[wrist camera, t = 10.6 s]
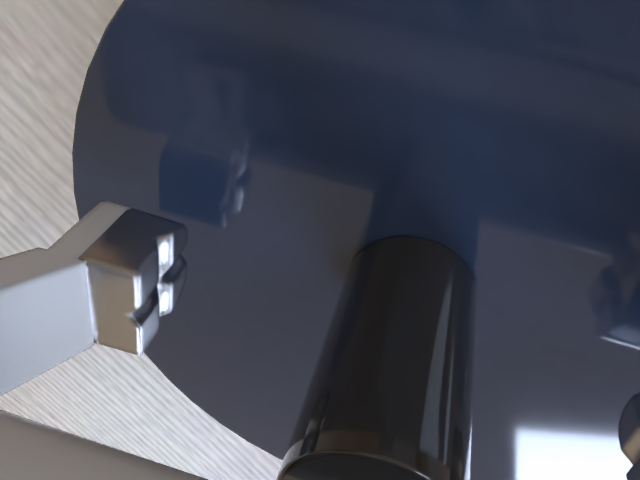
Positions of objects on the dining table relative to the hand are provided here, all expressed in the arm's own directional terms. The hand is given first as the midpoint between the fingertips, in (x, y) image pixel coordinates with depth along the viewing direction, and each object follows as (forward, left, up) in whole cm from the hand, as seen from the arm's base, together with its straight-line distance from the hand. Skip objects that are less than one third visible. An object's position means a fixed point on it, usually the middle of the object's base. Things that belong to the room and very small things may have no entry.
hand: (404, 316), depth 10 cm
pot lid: (0, 0, -1) cm, 1 cm away
